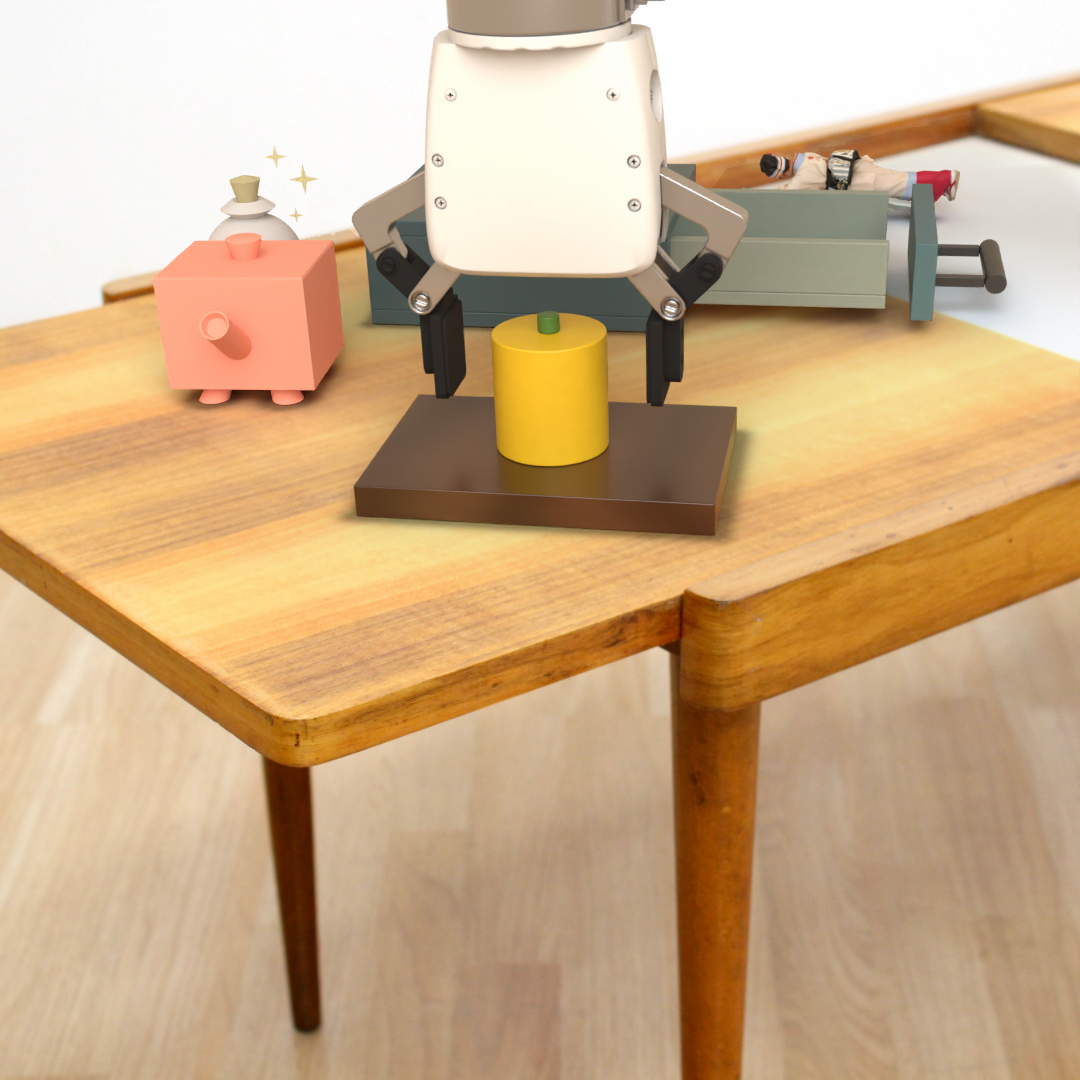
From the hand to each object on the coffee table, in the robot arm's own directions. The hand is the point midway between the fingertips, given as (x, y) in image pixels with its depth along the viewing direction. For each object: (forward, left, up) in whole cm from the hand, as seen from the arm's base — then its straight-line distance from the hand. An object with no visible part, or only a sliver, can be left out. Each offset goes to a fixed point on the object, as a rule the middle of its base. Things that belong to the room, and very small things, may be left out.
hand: (553, 391), depth 71 cm
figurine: (-12, -47, -4) cm, 49 cm away
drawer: (-11, -27, -3) cm, 29 cm away
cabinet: (+6, -27, -4) cm, 28 cm away
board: (0, 0, -4) cm, 4 cm away
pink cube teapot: (+18, -9, -4) cm, 21 cm away
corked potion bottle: (+22, -22, -4) cm, 31 cm away
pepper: (0, 0, -3) cm, 3 cm away
